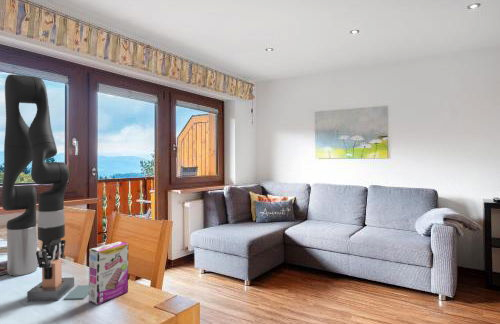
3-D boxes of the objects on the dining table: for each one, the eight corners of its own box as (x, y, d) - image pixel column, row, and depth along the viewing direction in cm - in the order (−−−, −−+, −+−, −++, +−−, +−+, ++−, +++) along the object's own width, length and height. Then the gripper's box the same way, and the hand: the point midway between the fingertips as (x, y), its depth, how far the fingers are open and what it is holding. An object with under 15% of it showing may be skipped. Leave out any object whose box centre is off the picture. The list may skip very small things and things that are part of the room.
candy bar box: (98, 306, 96) (97, 251, 96) (88, 302, 99) (87, 249, 99) (129, 292, 106) (129, 242, 106) (119, 288, 109) (119, 240, 108)
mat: (78, 286, 110) (78, 285, 110) (96, 285, 111) (96, 284, 111) (63, 299, 100) (63, 298, 100) (83, 299, 101) (83, 297, 101)
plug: (49, 286, 107) (48, 259, 107) (61, 286, 107) (61, 259, 107) (42, 291, 103) (42, 263, 103) (55, 291, 103) (55, 263, 103)
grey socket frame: (46, 286, 110) (46, 278, 110) (74, 286, 111) (74, 277, 111) (27, 301, 99) (27, 292, 99) (57, 300, 100) (57, 291, 100)
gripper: (50, 219, 111) (51, 268, 112) (25, 229, 97) (26, 285, 98) (73, 219, 112) (74, 268, 112) (52, 228, 98) (52, 284, 98)
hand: (52, 275), depth 105 cm, fingers closed on plug, 4 cm apart
